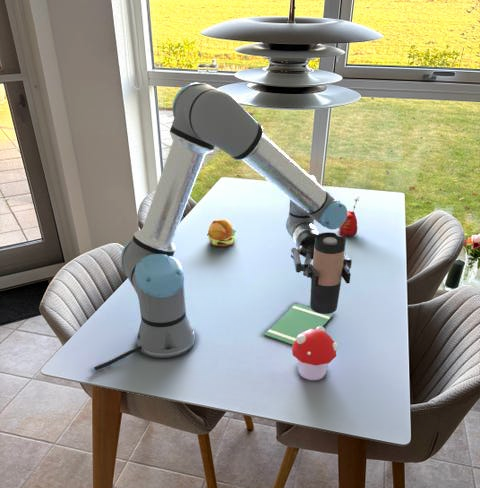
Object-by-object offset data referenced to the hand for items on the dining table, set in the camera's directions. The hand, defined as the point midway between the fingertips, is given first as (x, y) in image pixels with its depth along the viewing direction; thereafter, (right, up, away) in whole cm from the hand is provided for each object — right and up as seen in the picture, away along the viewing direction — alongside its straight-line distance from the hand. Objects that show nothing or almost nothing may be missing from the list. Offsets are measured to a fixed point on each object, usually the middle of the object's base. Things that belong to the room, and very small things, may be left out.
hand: (332, 279), depth 126 cm
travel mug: (-1, -7, +10) cm, 12 cm away
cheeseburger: (-30, +19, +63) cm, 72 cm away
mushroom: (-5, -23, 0) cm, 24 cm away
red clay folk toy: (+18, +22, +69) cm, 74 cm away
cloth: (-6, -11, +17) cm, 22 cm away
